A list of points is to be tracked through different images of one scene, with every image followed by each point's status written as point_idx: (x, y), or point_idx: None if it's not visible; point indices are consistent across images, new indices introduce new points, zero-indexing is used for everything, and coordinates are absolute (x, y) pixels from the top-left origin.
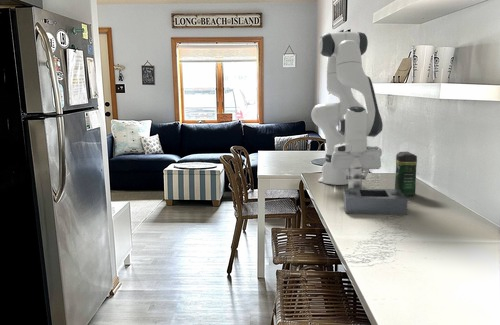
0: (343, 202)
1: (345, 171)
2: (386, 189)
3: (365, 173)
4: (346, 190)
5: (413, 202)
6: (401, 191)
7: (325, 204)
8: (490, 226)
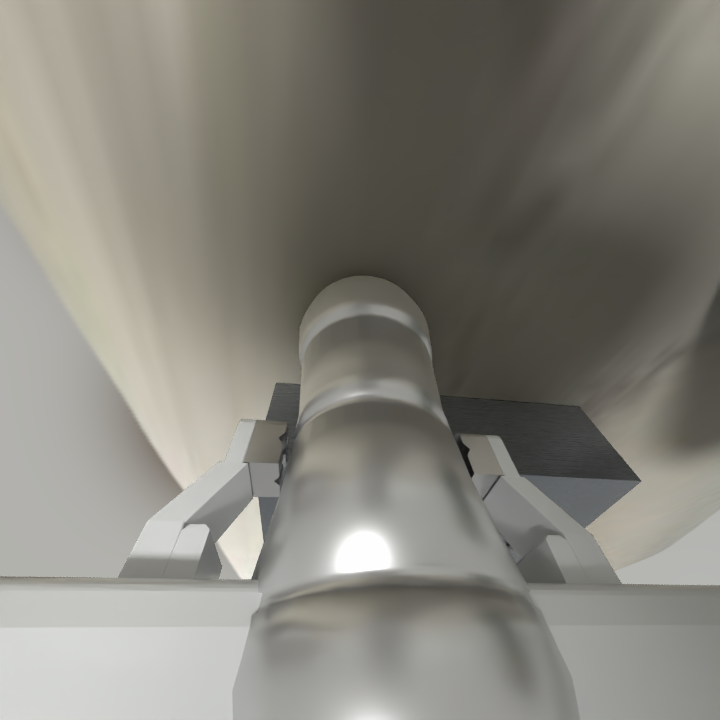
0: (276, 384)
1: (219, 561)
2: (548, 487)
3: (509, 519)
4: (274, 499)
5: (670, 390)
6: (599, 514)
7: (171, 409)
8: (639, 557)
